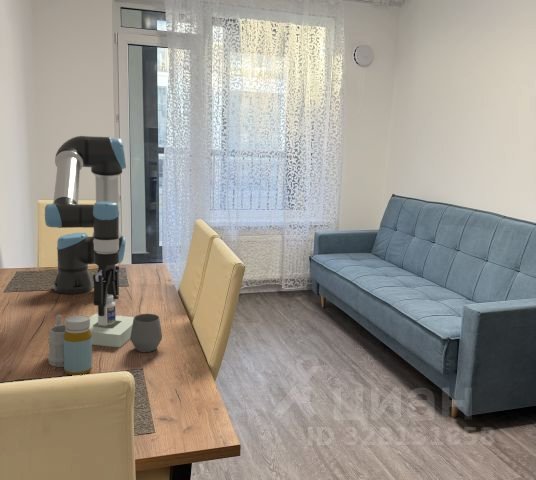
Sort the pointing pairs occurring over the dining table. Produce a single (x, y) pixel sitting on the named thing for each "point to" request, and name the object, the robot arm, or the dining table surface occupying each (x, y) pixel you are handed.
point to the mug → (56, 343)
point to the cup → (146, 332)
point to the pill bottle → (110, 309)
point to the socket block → (111, 331)
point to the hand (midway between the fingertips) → (107, 321)
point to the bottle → (77, 345)
